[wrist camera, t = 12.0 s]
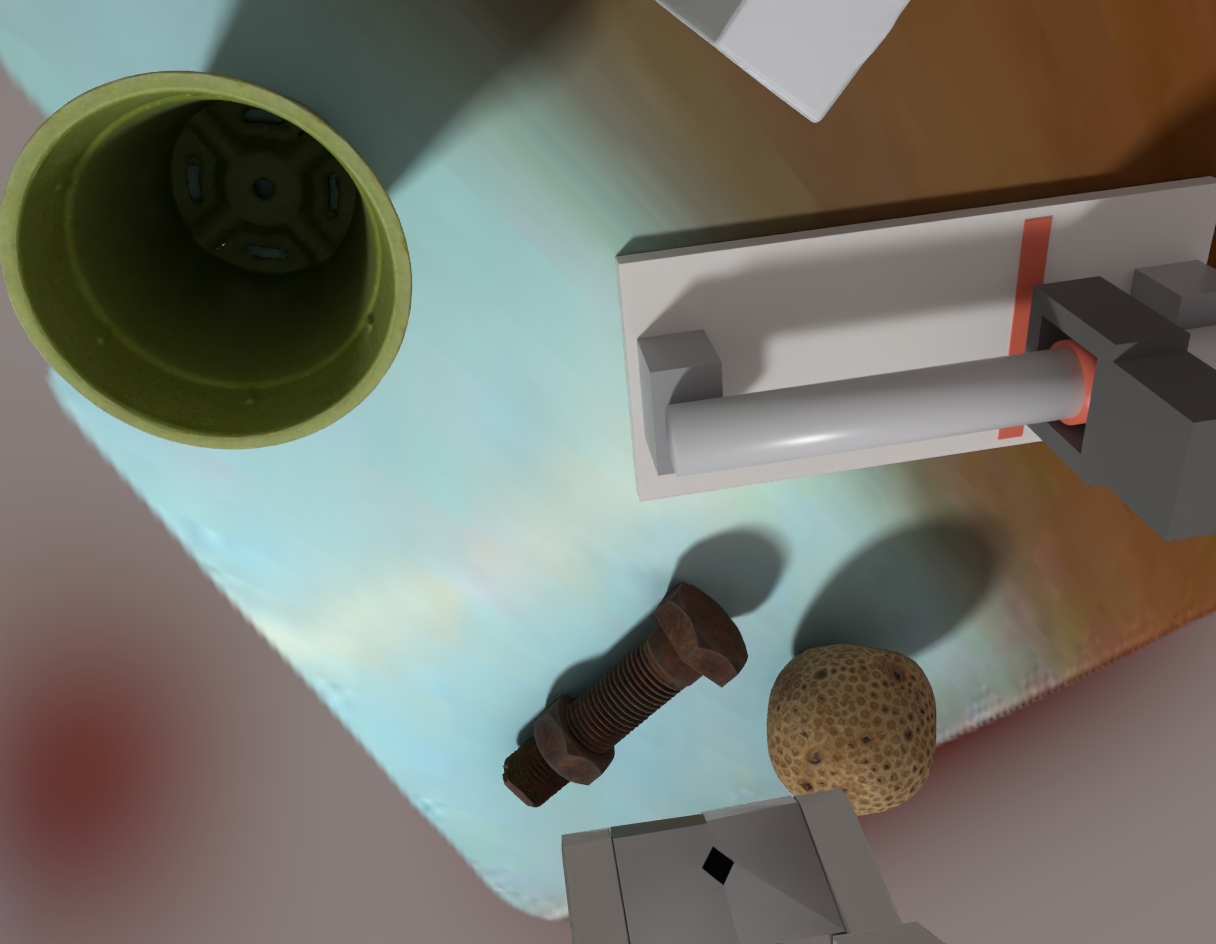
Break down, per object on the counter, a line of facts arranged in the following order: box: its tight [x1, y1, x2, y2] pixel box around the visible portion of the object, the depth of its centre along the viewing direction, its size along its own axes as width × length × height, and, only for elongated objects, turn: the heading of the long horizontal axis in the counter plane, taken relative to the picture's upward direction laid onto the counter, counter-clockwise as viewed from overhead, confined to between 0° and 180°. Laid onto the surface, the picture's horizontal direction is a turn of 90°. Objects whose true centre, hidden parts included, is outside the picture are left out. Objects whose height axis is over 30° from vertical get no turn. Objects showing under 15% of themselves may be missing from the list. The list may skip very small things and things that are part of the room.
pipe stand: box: [615, 176, 1216, 502], centre depth 45 cm, size 27×12×8 cm, turn 95°
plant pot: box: [0, 71, 412, 449], centre depth 36 cm, size 12×12×11 cm
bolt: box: [503, 583, 748, 807], centre depth 55 cm, size 6×5×15 cm
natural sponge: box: [767, 644, 936, 816], centre depth 54 cm, size 9×9×10 cm
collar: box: [1025, 276, 1216, 542], centre depth 41 cm, size 3×6×11 cm, turn 5°
